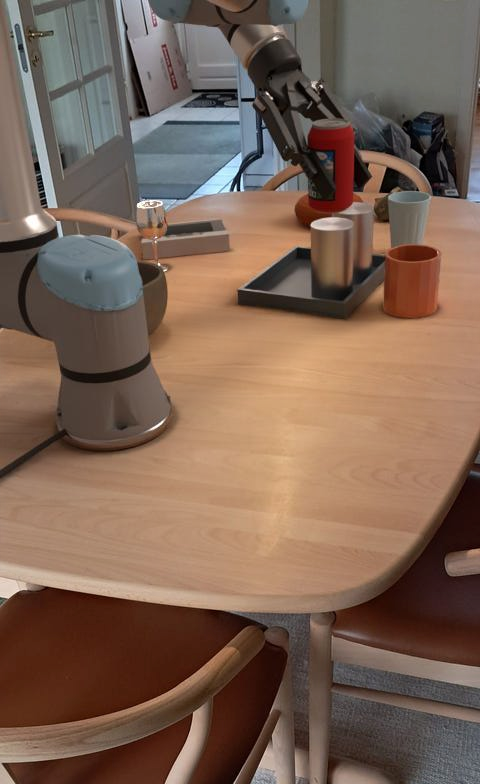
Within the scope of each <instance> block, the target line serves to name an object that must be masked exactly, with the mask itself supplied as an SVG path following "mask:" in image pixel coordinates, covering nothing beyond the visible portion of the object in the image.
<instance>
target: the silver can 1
mask: <svg viewBox="0 0 480 784" xmlns="http://www.w3.org/2000/svg"><path fill="white" fill-rule="evenodd" d="M310 247H311V296H312V298H320V299H328V300H335V301H343V300H344V299H346V298H347V297H348V296H349V295H350V294H351V293H352V292H353V260H354V222H353V221H352V220H350V219H346V218H338V217H331V218H323V219H319V220H316V221H314V222H312V223H311V226H310Z"/></svg>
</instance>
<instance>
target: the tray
mask: <svg viewBox="0 0 480 784" xmlns="http://www.w3.org/2000/svg"><path fill="white" fill-rule="evenodd" d="M384 266H385V254H377V253H372V274H371V275H370V276H369V277H368V278H367V279H365V280H364V281H363V282H362V283H361V284H353V292H352V293H351V294H350V295H349V296H348V297H347V298H346V299H344V300H343V301H335V300H328V299H320V298H312V296H311V246H302V245H301V246H300V245H294V246H293V247H291V248H290V249H289V250H288V251H286V252H285V253H284V254H283V255H281V256H280V257H278V258H277V259H276V260H275V261H273V262H272V263H270V264H269V265H268V266H266V267H265V268H264V269H262V270H261V271H260V272H259V273H257V274H256V275H255V276H253V277H252V278H250V279H249V280H248V281H246V282H245V283H244V284H243V285H241V286H240V287H239V288H237V289H236V290H237V291H236V292H237V304H238V305H243V306H248V307H249V306H250V307H256V308H264V309H271V310H277V311H286V312H293V313H298V314H299V313H300V314H306V315H313V316H322V317H328V318H334V319H335V318H336V319H342V320H343V319H344V320H345V319H346V318H348V317H349V316H350V315H351V314H352V313H353V312H354V311H355V310H356V309H357V308H358V307H359V305H361V303H363V302H364V301H365V300H366V299H367V298H368V297H369V295H371V294H372V293H373V292H374V291H375V290H376V288H378V287H379V286H380V285H381V284H382V283H383V282H384Z"/></svg>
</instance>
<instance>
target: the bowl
mask: <svg viewBox="0 0 480 784" xmlns="http://www.w3.org/2000/svg"><path fill="white" fill-rule="evenodd" d="M137 265H138V270H139V274H140V276H141V279H142V286H143V296H144V304H145V313H146V321H147V330H148V338H150V337H151V336H152V335H153V334H154V333H155V332H156V331H157V330H158V328H160V325H161V323H162V322H163V320H164V317H165V315H166V311H167V308H168V299H169V298H168V297H169V294H168V293H169V292H168V291H169V290H168V282H167V277H166V274H165V271H164V270H163V269H162V267H161V266H159V265H157V264H155V262H149V261H145V260H137Z"/></svg>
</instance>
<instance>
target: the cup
mask: <svg viewBox="0 0 480 784" xmlns="http://www.w3.org/2000/svg"><path fill="white" fill-rule="evenodd" d="M403 191H404V192H397V193H393V194H391V195H389V196H388V207H389V219H388V221H389V235H390V236H389V237H390V248H393V247H395V246H401V245H410V244H418V245H424V239H425V234H426V228H427V221H428V216H429V210H430V205H431V199H432V195H431V194H429V193H427V192H423V191H417V190H403Z"/></svg>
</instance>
